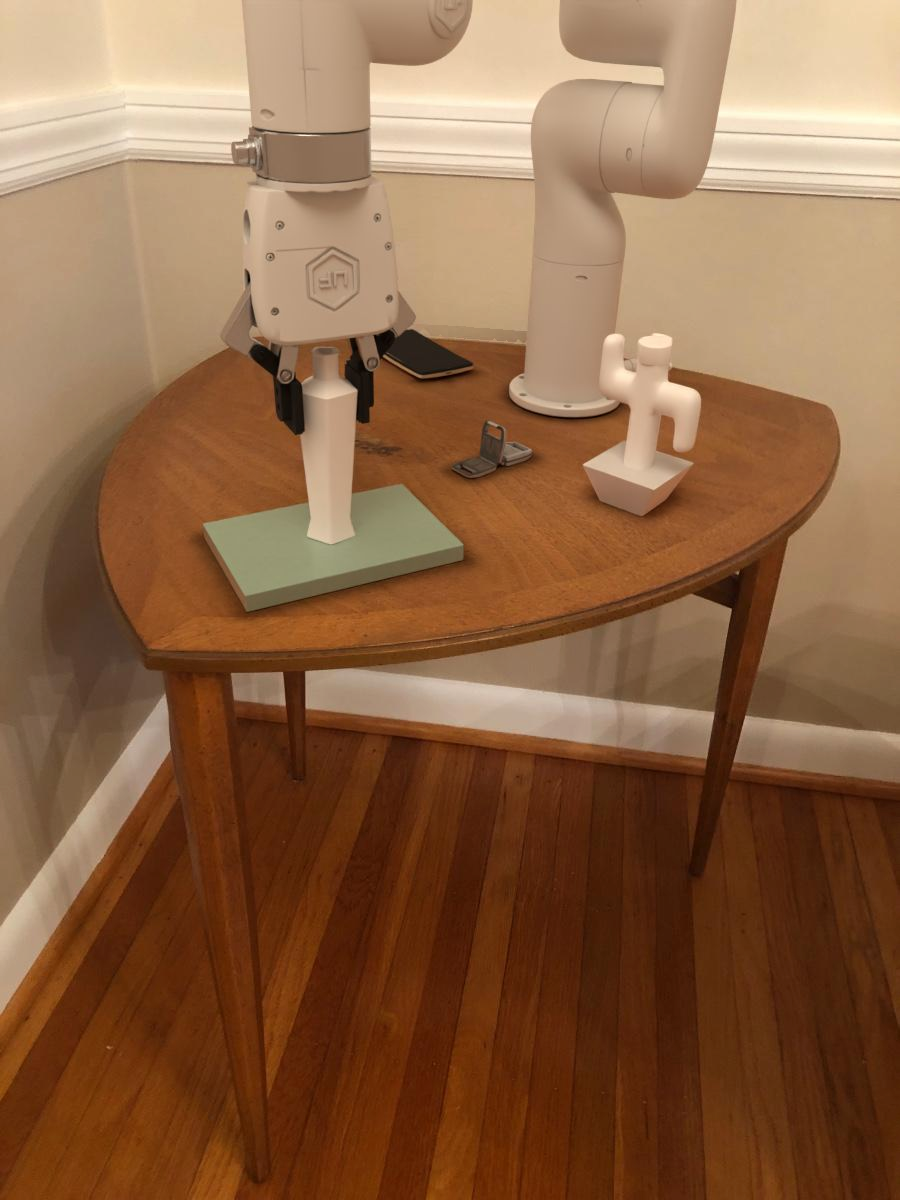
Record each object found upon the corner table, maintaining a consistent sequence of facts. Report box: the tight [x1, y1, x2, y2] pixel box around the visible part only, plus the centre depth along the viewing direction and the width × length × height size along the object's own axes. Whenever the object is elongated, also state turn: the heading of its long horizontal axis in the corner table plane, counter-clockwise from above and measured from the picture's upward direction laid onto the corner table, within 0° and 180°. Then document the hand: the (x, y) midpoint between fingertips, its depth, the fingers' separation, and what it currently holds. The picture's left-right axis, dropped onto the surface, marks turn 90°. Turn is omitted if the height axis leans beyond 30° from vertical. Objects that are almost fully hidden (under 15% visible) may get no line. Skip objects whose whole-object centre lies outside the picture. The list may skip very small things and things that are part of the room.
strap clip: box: [451, 419, 533, 479], centre depth 90 cm, size 8×3×4 cm, turn 130°
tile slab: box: [202, 483, 465, 613], centre depth 77 cm, size 18×12×2 cm, turn 117°
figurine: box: [581, 332, 702, 517], centre depth 82 cm, size 7×9×15 cm
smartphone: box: [382, 328, 474, 379], centre depth 116 cm, size 7×1×15 cm
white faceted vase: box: [299, 346, 358, 544], centre depth 72 cm, size 5×4×15 cm
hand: (326, 420), depth 71 cm, fingers closed on white faceted vase, 4 cm apart
